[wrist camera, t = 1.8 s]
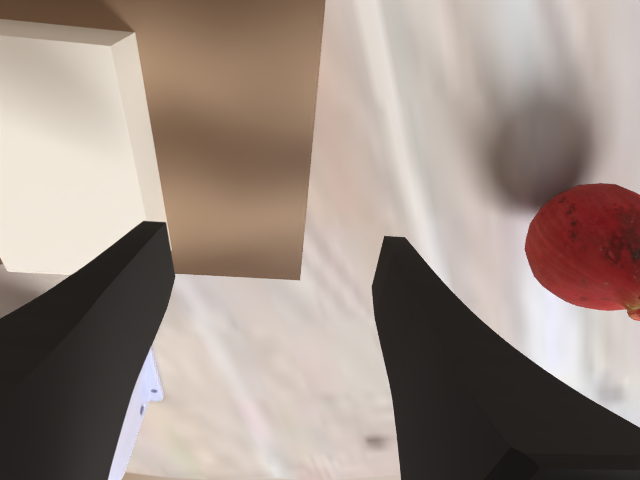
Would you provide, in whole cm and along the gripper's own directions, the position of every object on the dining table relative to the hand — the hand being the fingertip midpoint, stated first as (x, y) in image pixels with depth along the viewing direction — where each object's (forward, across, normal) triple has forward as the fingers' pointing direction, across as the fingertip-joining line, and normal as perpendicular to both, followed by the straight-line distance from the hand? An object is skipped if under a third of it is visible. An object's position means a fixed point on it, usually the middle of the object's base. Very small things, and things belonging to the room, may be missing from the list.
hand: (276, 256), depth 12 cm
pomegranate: (+10, -15, +3) cm, 18 cm away
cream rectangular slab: (+4, +8, 0) cm, 9 cm away
